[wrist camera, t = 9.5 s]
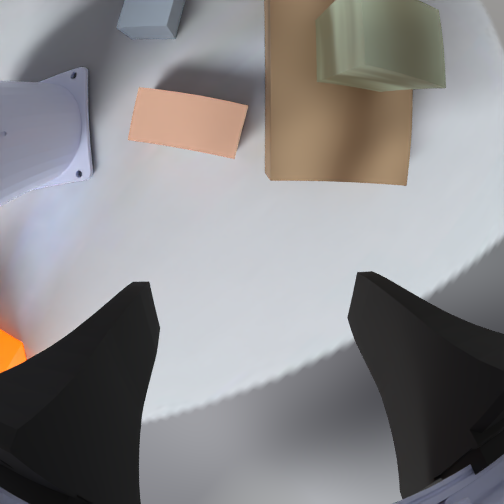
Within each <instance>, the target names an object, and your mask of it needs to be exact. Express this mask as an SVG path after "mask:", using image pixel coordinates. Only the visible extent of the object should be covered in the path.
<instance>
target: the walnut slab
mask: <svg viewBox="0 0 504 504" xmlns="http://www.w3.org/2000/svg"><path fill="white" fill-rule="evenodd" d="M334 1H335V0H264V11H265V173H266V175H267V176H268V178H269V179H270V181H337V182H360V183H377V184H391V185H404V186H406V184H407V176H408V167H409V157H410V145H411V130H412V99H413V89H408V90H395V91H384V92H378V91H373V90H368V89H362V88H357V87H351V86H344V85H338V84H330V83H322V82H317V60H316V25H315V20H316V19H317V18H318V17H319V16H320V15H321V14H322V13H323V12H324V11H325V10H326V9H327V8H328V7H329V6H330V5H331V4H332V3H333V2H334Z"/></svg>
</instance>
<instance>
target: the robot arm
mask: <svg viewBox="0 0 504 504" xmlns="http://www.w3.org/2000/svg"><path fill="white" fill-rule="evenodd" d="M75 73H77V76H76V78H75V79H74V78H73V76H74V74H75ZM79 170H80V171H81V172H82V176H81V177H80V176H79V174H78V173H79ZM92 175H93V166H92V156H91V145H90V132H89V112H88V69H87V68H85V67H79V68H76V69H72V70H69V71H67V72H64V73H61V74H58V75H55V76H53V77H50V78H47V79H45V80H42V81H40V82H21V81H0V206H2V205H4V204H6V203H8V202H9V201H11V200H13V199H15V198H17V197H19V196H21V195H22V194H24V193H26V192H28V191H30V190H34V189H39V188H44V187H49V186H55V185H60V184H66V183H72V182H78V181H84V180H88V179H90V178H91V177H92ZM348 321H349V324H350V327H351V331H352V333H353V336H354V339H355V341H356V344H357V346H358V348H359V350H360V352H361V354H362V356H363V358H364V360H365V362H366V364H367V366H368V368H369V370H370V372H371V374H372V376H373V379H374V381H375V383H376V385H377V387H378V389H379V392H380V394H381V397H382V400H383V403H384V407H385V410H386V413H387V416H388V420H389V424H390V428H391V432H392V436H393V441H394V446H395V451H396V457H397V464H398V472H399V482H400V493H401V496H402V499H403V500H401V501H398V502H395V503H393V504H504V334H502V333H499V332H495V331H492V330H489V329H486V328H483V327H480V326H477V325H475V324H472V323H470V322H467V321H465V320H462V319H460V318H458V317H456V316H454V315H451V314H449V313H447V312H445V311H443V310H441V309H439V308H437V307H436V306H434V305H432V304H430V303H428V302H427V301H425V300H423V299H421V298H419V297H418V296H416V295H414V294H413V293H411V292H409V291H407V290H406V289H404V288H402V287H401V286H399V285H397V284H395V283H394V282H392V281H390V280H388V279H387V278H385V277H383V276H381V275H379V274H377V273H375V272H372V271H371V272H357V276H356V281H355V286H354V291H353V296H352V300H351V305H350V309H349V313H348ZM159 332H160V326H159V322H158V318H157V314H156V310H155V306H154V301H153V297H152V292H151V288H150V283H149V282H132V283H131V284H129V285H128V286H127V287H125V288H124V289H123V290H122V291H120V292H119V293H118V294H117V295H116V296H115V297H113V298H112V299H111V300H110V301H109V302H108V303H106V304H105V305H104V306H103V307H102V308H101V309H99V310H98V311H97V312H96V313H95V314H93V315H92V316H91V317H90V318H88V319H87V320H86V321H85V322H83V323H82V324H81V325H80V326H78V327H77V328H76V329H75V330H73V331H72V332H71V333H69V334H68V335H67V336H65V337H64V338H62V339H61V340H59V341H58V342H56V343H55V344H53V345H52V346H50V347H49V348H47V349H46V350H44V351H42V352H40V353H39V354H37V355H35V356H33V357H32V358H30V359H28V360H26V361H25V362H23V363H21V364H19V365H17V366H14V367H12V368H10V369H8V370H6V371H3V372H1V373H0V504H141V502H140V490H139V444H140V443H139V442H140V429H141V419H142V412H143V406H144V401H145V397H146V393H147V389H148V385H149V381H150V377H151V373H152V369H153V365H154V362H155V358H156V354H157V348H158V340H159Z"/></svg>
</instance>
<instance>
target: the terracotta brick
mask: <svg viewBox="0 0 504 504" xmlns="http://www.w3.org/2000/svg"><path fill="white" fill-rule="evenodd" d="M247 109H248V106H247V105H243V104H239V103H235V102H230V101H225V100H220V99H215V98H210V97H205V96H199V95H194V94H187V93H181V92H174V91H167V90H159V89H150V88H140V87H139V89H138V93H137V98H136V102H135V106H134V111H133V116H132V121H131V126H130V131H129V136H128V140H132V141H139V142H146V143H152V144H159V145H165V146H171V147H177V148H182V149H188V150H193V151H198V152H203V153H208V154H213V155H218V156H223V157H227V158H232V159H234V158H235V155H236V151H237V147H238V143H239V139H240V135H241V131H242V128H243V124H244V120H245V117H246V113H247Z"/></svg>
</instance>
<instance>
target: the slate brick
mask: <svg viewBox="0 0 504 504" xmlns="http://www.w3.org/2000/svg"><path fill="white" fill-rule="evenodd" d="M184 4H185V0H125V1H124V4H123V7H122V10H121V14H120V17H119V20H118V24H117V29H118V30H120V31H121V32H122V33H124V34H125V35H126V36H128V37H129V38H130V39H176V35H177V31H178V27H179V23H180V19H181V15H182V11H183V8H184Z"/></svg>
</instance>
